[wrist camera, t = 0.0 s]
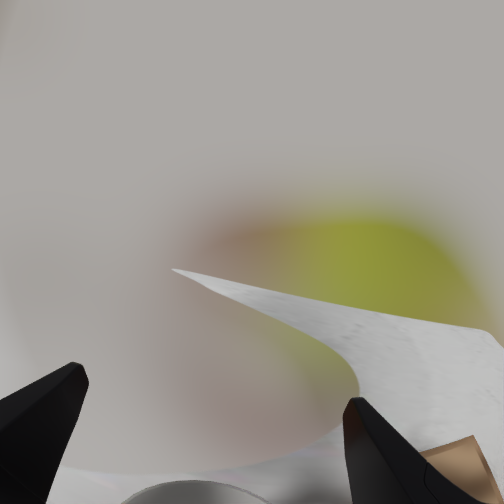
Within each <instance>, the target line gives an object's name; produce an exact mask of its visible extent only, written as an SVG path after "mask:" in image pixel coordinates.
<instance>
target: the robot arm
mask: <svg viewBox="0 0 504 504" xmlns="http://www.w3.org/2000/svg"><path fill="white" fill-rule="evenodd" d="M88 386H89V381H88V378H87V375H86V372H85V369H84V367H83V365H81V364H79V363H76V362H70V363H69V364H67V365H65V366H63V367H61V368H59V369H57V370H56V371H54V372H52V373H50V374H48V375H46V376H44V377H43V378H41V379H39V380H37V381H35V382H33V383H31V384H29V385H28V386H26V387H24V388H22V389H20V390H18V391H16V392H14V393H12V394H11V395H9V396H7V397H5V398H3V399H1V400H0V504H46V501H47V498H48V495H49V492H50V489H51V486H52V483H53V481H54V478H55V475H56V472H57V470H58V467H59V464H60V461H61V459H62V456H63V454H64V451H65V449H66V446H67V444H68V441H69V439H70V437H71V434H72V432H73V429H74V427H75V425H76V422H77V420H78V417H79V414H80V411H81V408H82V404H83V401H84V398H85V395H86V392H87V389H88ZM343 432H344V449H345V460H346V466H347V471H348V477H349V483H350V489H351V496H352V502H353V504H489V503H484V502H481V501H479V500H477V499H475V498H474V497H472V496H471V495H469V494H468V493H466V492H465V491H464V490H462V489H461V488H459V487H458V486H457V485H455V484H454V483H452V482H451V481H450V480H449V479H447V478H446V477H445V476H444V475H442V474H441V473H440V472H439V471H438V470H437V469H436V468H435V467H434V466H432V465H431V464H430V463H429V462H427V460H426V459H425V458H424V457H423V456H422V455H421V454H420V453H419V452H418V451H417V450H416V449H415V448H414V447H413V446H412V445H411V444H410V443H409V442H408V441H407V440H406V439H405V438H404V437H402V436H401V435H400V434H399V433H398V432H397V431H396V430H395V429H394V428H393V427H392V426H391V425H390V424H389V423H388V422H387V421H386V420H385V419H384V418H383V417H382V416H381V415H380V414H379V413H378V412H377V411H376V410H375V409H374V408H373V407H372V406H371V405H370V404H369V403H368V402H367V401H366V400H365V399H364V398H363V397H355V398H351V399H350V401H349V402H348V404H347V406H346V408H345V411H344V413H343Z"/></svg>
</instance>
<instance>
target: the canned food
mask: <svg viewBox="0 0 504 504" xmlns="http://www.w3.org/2000/svg"><path fill="white" fill-rule="evenodd" d="M121 504H271V503H269V502H268V501H266V500H265V499H263V498H262V497H260V496H258V495H255V494H253V493H251V492H249V491H247V490H244V489H241V488H238V487H235V486H232V485H228V484H222V483H217V482H211V481H198V480H190V481H175V482H168V483H162V484H159V485H155V486H152V487H149V488H146V489H144V490H142V491H140V492H138V493H135V494H133V495H132V496H131V497H129V498H128V499H126V500H125V501H124V502H122V503H121Z"/></svg>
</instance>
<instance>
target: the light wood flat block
mask: <svg viewBox="0 0 504 504" xmlns="http://www.w3.org/2000/svg"><path fill="white" fill-rule="evenodd" d="M419 453H420V454H421V455H422V456H423V457H424V458H425V459H426V460H427V462H429V463H430V464H431V465H432V466H434V467H435V468H436V469H437V470H438V471H439V472H440V473H441V474H442V475H444V476H445V477H446V478H447V479H449V480H450V481H451V482H452V483H454V484H455V485H457V486H458V487H459V488H461V489H462V490H464V491H465V492H466V493H468V494H469V495H471V496H472V497H474V498H475V499H477V500H479V501H481V502H484V503H489V504H504V501H503V499H502V496H501V494H500V491H499V489H498V486H497V484H496V481H495V479H494V477H493V475H492V472H491V470H490V468H489V466H488V464H487V461H486V459H485V457H484V455H483V453H482V451H481V449H480V447H479V445H478V443H477V441H476V439H475V437H474V435H471V436H469V437H466V438H463V439H461V440H458V441H455V442H452V443H449V444H446V445H443V446H440V447H437V448H433V449H430V450H426V451H423V452H419Z"/></svg>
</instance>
